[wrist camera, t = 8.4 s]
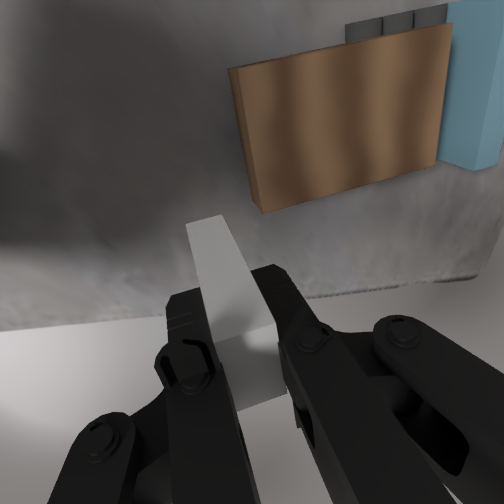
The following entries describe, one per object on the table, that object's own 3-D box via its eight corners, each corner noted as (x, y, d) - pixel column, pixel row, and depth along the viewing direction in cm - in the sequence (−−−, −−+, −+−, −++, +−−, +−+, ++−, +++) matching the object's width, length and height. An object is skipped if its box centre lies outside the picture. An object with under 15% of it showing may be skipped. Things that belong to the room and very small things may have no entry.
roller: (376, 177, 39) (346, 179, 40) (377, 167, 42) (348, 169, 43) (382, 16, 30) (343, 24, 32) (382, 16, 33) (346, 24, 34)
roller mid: (366, 168, 42) (384, 160, 43) (390, 173, 39) (408, 164, 41) (368, 19, 33) (390, 15, 35) (399, 13, 31) (421, 8, 32)
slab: (252, 200, 36) (262, 213, 33) (227, 68, 29) (237, 69, 26) (410, 156, 39) (434, 165, 35) (421, 26, 32) (453, 22, 28)
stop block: (418, 153, 43) (474, 171, 36) (432, 6, 35) (510, -11, 27) (437, 147, 44) (497, 164, 36) (456, 1, 35) (539, -17, 28)
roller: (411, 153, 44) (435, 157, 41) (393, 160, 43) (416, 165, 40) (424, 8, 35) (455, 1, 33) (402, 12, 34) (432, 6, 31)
